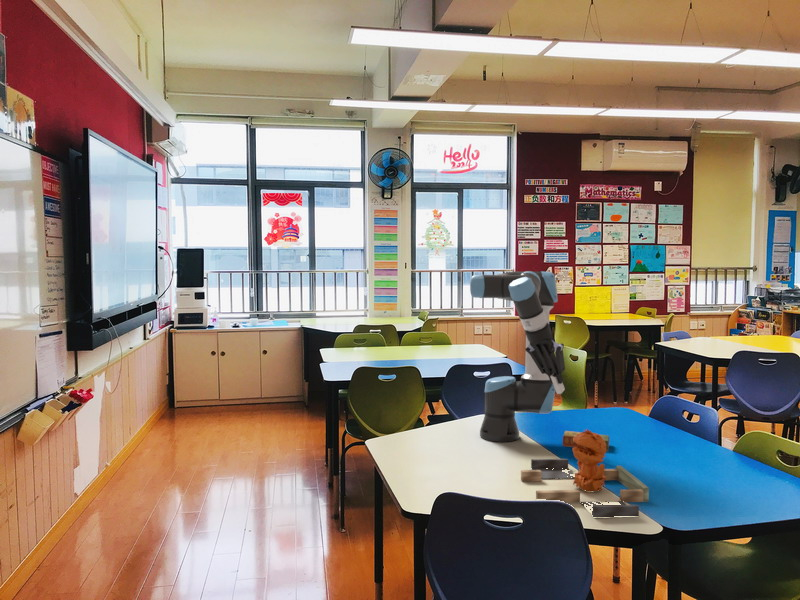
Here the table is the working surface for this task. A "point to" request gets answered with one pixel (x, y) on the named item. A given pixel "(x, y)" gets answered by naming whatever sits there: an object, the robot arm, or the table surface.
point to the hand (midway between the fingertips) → (560, 391)
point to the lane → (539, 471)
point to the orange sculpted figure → (589, 461)
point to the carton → (569, 442)
